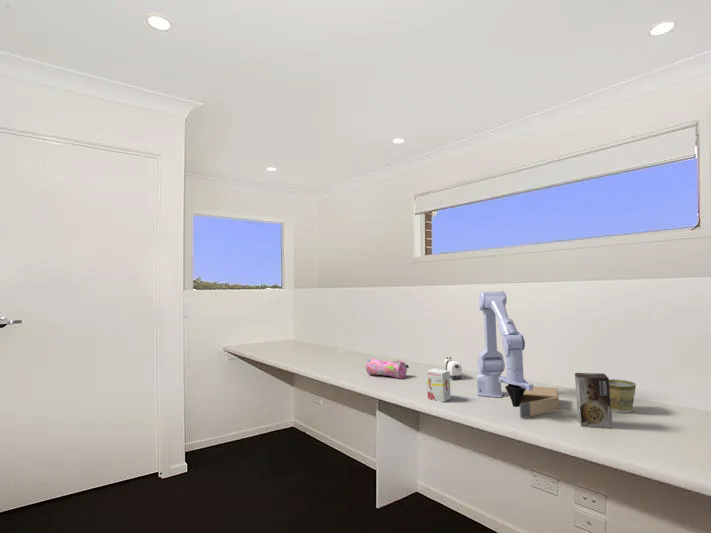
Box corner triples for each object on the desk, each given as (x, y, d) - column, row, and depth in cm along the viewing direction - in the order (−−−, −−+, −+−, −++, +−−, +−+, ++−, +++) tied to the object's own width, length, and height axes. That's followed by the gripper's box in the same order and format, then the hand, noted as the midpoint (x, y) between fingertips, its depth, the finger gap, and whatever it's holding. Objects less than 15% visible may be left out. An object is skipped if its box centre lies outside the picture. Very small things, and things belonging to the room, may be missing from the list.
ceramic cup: (626, 416, 143) (625, 387, 143) (598, 409, 151) (596, 381, 152) (648, 410, 149) (646, 381, 149) (619, 403, 157) (618, 376, 158)
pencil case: (409, 376, 214) (408, 359, 214) (401, 380, 206) (400, 362, 206) (373, 373, 226) (373, 356, 226) (364, 376, 218) (364, 359, 218)
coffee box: (607, 422, 138) (604, 373, 139) (612, 428, 132) (609, 377, 133) (577, 420, 141) (574, 372, 142) (580, 426, 135) (577, 376, 136)
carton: (517, 406, 159) (516, 392, 159) (520, 397, 169) (519, 385, 170) (557, 410, 152) (557, 396, 153) (558, 401, 163) (557, 388, 163)
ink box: (427, 398, 173) (425, 369, 174) (434, 396, 176) (433, 368, 177) (443, 402, 167) (442, 372, 167) (451, 400, 170) (450, 370, 170)
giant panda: (463, 380, 202) (462, 360, 202) (452, 381, 201) (451, 361, 201) (451, 373, 216) (450, 355, 217) (441, 374, 215) (440, 355, 216)
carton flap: (521, 418, 144) (521, 404, 145) (520, 417, 145) (519, 403, 145) (559, 409, 152) (558, 396, 152) (557, 409, 152) (557, 396, 152)
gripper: (539, 370, 145) (541, 410, 144) (508, 363, 158) (510, 399, 157) (523, 372, 142) (525, 413, 141) (493, 365, 155) (495, 402, 155)
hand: (516, 406), depth 149 cm, fingers closed
